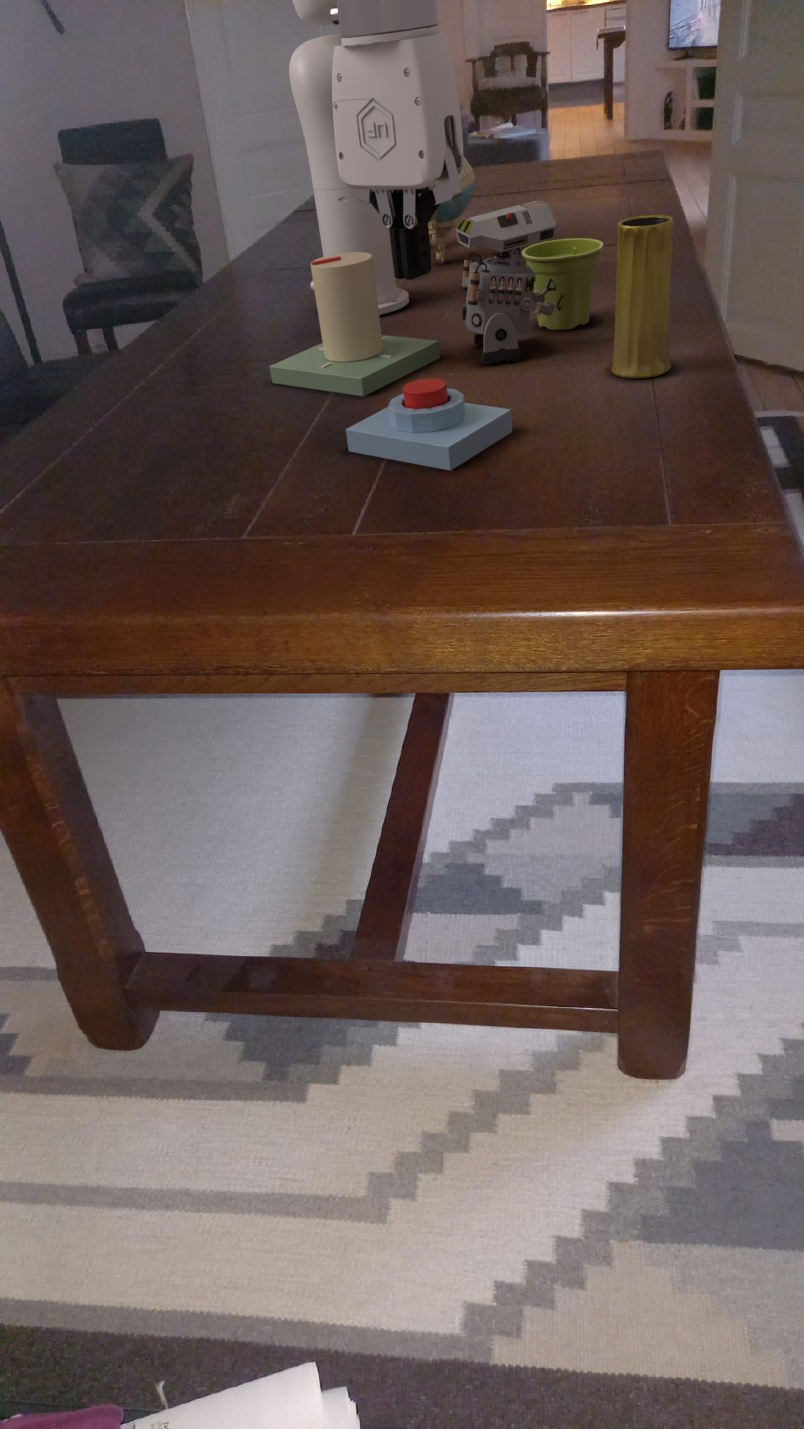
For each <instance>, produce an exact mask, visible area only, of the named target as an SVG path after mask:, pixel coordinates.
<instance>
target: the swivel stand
mask: <svg viewBox="0 0 804 1429" xmlns="http://www.w3.org/2000/svg"><path fill="white" fill-rule="evenodd" d="M382 342H383V351H382V352H381V353H379V354H378V355H376V356H373V357H371V358H367V359H363V360H358V361H350V362H336V361H330V360H328V359H326V358H325V355H324V348H323V342H321V343H319V344H317V345H314V346H312V347H309V348H307V349H305V350H302V351H300V352H299V353H296V354H293V355H292V356H289V357H287V358H285V359H282V360H280V361H278V362H275V363H273V364H271V365H269V372H270V378H271V382H272V384H276V385H282V386H289V387H296V388H302V389H310V390H315V391H322V392H331V393H339V394H345V395H351V396H359V397H366V396H367V395H369V394H372V393H373V392H376V391H377V390H380V389H382V388H384V387H385V386H387V385H389V384H391V383H393V382H396V381H397V380H399V379H401V378H404V377H405V376H407V375H409V374H411V373H414V372H415V371H417V370H419V369H420V368H423V367H424V366H427V365H428V364H431V363H433V362H435V361H437V360H439V359H440V358H441V354H440V353H441V352H440V341H439V340H435V339H433V340H432V339H424V338H415V337H407V336H405V337H404V336H397V335H396V336H394V335H385V334H382Z"/></svg>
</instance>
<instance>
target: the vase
mask: <svg viewBox="0 0 804 1429" xmlns="http://www.w3.org/2000/svg"><path fill="white" fill-rule="evenodd" d="M673 235H674V218H673V217H672V216H670V215H664V214H649V215H639V216H632V217H628V218H625V219H622V220H620V221H618V223H617V235H616V236H617V238H616V271H615V272H616V273H615V305H614V306H615V310H614V311H615V312H614V339H613V353H612V354H613V356H612V365H611V368H610V370H611V374H613V375H615V376H617V377H620V378H624V379H631V380H632V379H633V380H641V379H650V378H656V377H658V376H662V375H665V374H666V373H668V372H669V371H670V370H671V368H672V362H671V350H670V348H671V346H670V345H671V337H670V336H671V295H672V294H671V290H672V289H671V286H672V285H671V284H672V281H671V280H672V279H671V278H672V260H673V259H672V257H673V241H674V240H673V239H674V236H673Z"/></svg>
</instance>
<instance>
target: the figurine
mask: <svg viewBox="0 0 804 1429" xmlns="http://www.w3.org/2000/svg"><path fill="white" fill-rule="evenodd" d="M557 232H558V224H557V222H556V219H555V217H554V214H553V212H552V209H551V206H550V204H549V202H546V201H544V200H541V199H535V200H529V201H527V202H524V203H521V204H517V205H512V206H509V207H505V208H502V209H497V210H493V211H490V212H486V213H481V214H478V215H474V216H470V217H467V218H466V217H465V218H464V219H463V220H462V221H461V222H460V223H459V224H458V225H457V226H456V227H455V233H456V238H457V242H458V243H459V244H461V245H463V246H464V247H467V248H468V249H472V248H476V247H478V246H481V247H485V248H488V249H490V251H491V252H492V255H493V256H494V257H488V258H484V259H483V260H482V256H481V255H480V253H479V252H477V251H472V252H471V253H470V254H469V255H468V257H467V258H466V259H464V260H463V261H464V262H463V266H462V278H461V286H460V291H463V292H466V299H465V304H462V312H461V320H462V321H463V323H464V325H465V327H466V329H467V331H469V332H472V333H473V340H472V341H473V344H474V345H477V346H478V347H480V348H481V347H482V348H483V349H482V350H481V362H482V363H483V364H484V363H486V364H487V365H488V366H490V365H492V364H493V363H494V364H495V365H498V364H499V363H500V362H501V361H505V362H506V363H510V362H511V361H512V360H513V362H518V361H519V359H520V358H522V354H521V349H520V346H519V342H518V337H519V336H523V335H527V334H528V332H529V324H530V317H531V311H532V313H533V314H536V315H537V314H538V315H540V314H541V313H542V314H544V315H548V316H551V315H552V314H553V311H554V309H556V308H558V310H559V311H561V308H562V305H561V307H559V304H560V301H561V299H562V298H563V299H564V296H563V294H562V295H561V297H560V299H559V301H558V302H557V303H555V304H552V303H549V302H547V303H546V304H545V305H544V304H543V303H544V302H545V297H544V296H545V295H546V294H547V293H548V291H554V290H556V284H555V287H554V288H549V287H550V284H551V281H552V282H554V281H553V280H552V279H551V278H550V280H549V283H548V285H547V288H545V289H544V290H543V291H542V292H541V293H539V292H537V293H534V292H533V290H534V282H535V281H536V280H535V273H534V272H533V271H532V269H531V268H530V267H528V266H527V263H525V262H523V261H521V260H517V259H516V258H517V257H518V256H520V255H521V248H523V247H526V246H527V247H528V246H531V245H534V244H538V243H542V242H546V241H550V240H552V239H556V238H557ZM472 255H477V256H478V257H479V261H474V262H473V260H472V259H471V256H472ZM554 283H555V282H554Z"/></svg>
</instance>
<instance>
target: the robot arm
mask: <svg viewBox="0 0 804 1429" xmlns="http://www.w3.org/2000/svg"><path fill="white" fill-rule="evenodd" d="M292 4H293V7H294V9H295V12H296V14H297V16H298V18H299V19H300V20H301V21H302V22H303V23H305V24H307V25H308V26H313V27H333V26H334V27H335V26H338V27H339V33H334V34H327V35H322V36H318V37H314V38H311V39H309V40H307V41H305V42H303V43H301V44H300V45H299V46H298V47H297V48H296V49H295V50H294V52H292V55H291V57H290V60H289V66H288V77H289V84H290V88H291V89H290V90H291V93H292V97H293V100H294V104H295V107H296V112H297V115H298V118H299V123H300V125H301V130H302V135H303V139H304V142H305V148H306V154H307V160H308V165H309V171H310V177H311V184H312V189H313V198H314V204H315V210H316V217H317V224H318V231H319V236H320V244H321V250H322V255H323V256H322V257H325V256H329V255H334V254H340V253H349V252H365V253H369V254H371V255H372V259H373V267H374V276H375V284H376V292H377V301H378V309H379V316H381V315H386V314H389V313H392V312H393V313H394V312H395V311H399V310H401V309H402V308H404V307H406V306H407V305H408V304H409V303H410V295H409V292H408V291H407V290H406V289H403V288H398V286H397V280H404V279H405V280H406V281H407V280H408V281H413V280H415V279H417V278H420V277H422V276H424V275H426V274H429V273H430V272H431V270H432V252H431V243H430V239H429V227H428V222H431V221H432V220H433V219H434V213H435V211H436V210H437V208H438V207H439V205H440V204H441V203H443V202H446V201H449V200H452V199H455V198H457V197H460V196H461V194H462V187H461V183H460V179H459V174H460V173H461V171H462V168H463V156H464V139H463V138H464V137H463V126H462V117H461V109H460V108H461V107H460V100H459V93H458V87H457V81H456V74H455V70H454V65H453V64H454V63H453V60H452V55H451V51H450V50H451V49H450V47H449V43H448V39H447V36H446V32H440V25H439V22H440V20H439V10H438V0H292ZM435 180H438V184H437V186H436V187H435ZM392 191H393V193H392ZM419 194H420V196H419ZM309 286H310V290H311V291H314V292H315V290H314V284H313V280H311V282H310V285H309Z"/></svg>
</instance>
